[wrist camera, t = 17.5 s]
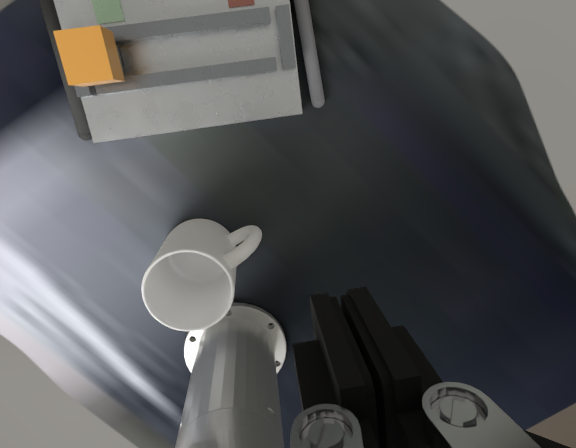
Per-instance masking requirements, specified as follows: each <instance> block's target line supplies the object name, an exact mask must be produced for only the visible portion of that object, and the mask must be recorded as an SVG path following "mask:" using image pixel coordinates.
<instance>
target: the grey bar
mask: <svg viewBox="0 0 576 448" xmlns="http://www.w3.org/2000/svg"><path fill="white" fill-rule="evenodd" d="M39 2H40V5H41V9H42V12H43V16H44V19H45V22H46V26H47V29H48V33H49V36H50V40H51V43H52V47H53V50H54V53H55V57H56V60H57V64H58V67H59V71H60V74H61V77H62V81H63V84H64V88H65V91H66V95H67V98H68V101H69V105H70V108H71V112H72V115H73V119H74V122H75V126H76V129H77V132H78V135H79V137H80V138H81V139H83V140H90V139H91V138H92V136H91V132H90V129H89V125H88V122H87V118H86V114H85V111H84V107H83V104H82V100H81V97H77V94H76V90H75V87H74V86H71V85H68V82H67V78H66V75H65V71H64V68H63V64H62V61H61V57H60V54H59V50H58V47H57V43H56V40H55V36H54V33H53V31H57V30H62V29H61V25H60V22H59V18H58V15H57V11H56V8H55V4H54V1H53V0H39Z"/></svg>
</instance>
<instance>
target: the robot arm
mask: <svg viewBox="0 0 576 448" xmlns="http://www.w3.org/2000/svg"><path fill="white" fill-rule="evenodd" d="M310 306H311V314H312V322H313V329H314V337H315V340H313V341H307V342H301V343H295V344H292V348H293V355H294V362H295V368H296V375H297V381H298V387H299V394H300V400H301V405H302V411H303V412H302V413H301V414H299V415H298V417H297V418H296V420H295V421H294V423H293V426H292V430H291V439H290V448H570V447H567V446H565V445H562V444H559V443H556V442H554V441H551V440H549V439H546V438H544V437H541V436H538V435H536V434H533V433H531V432H528V431H525V430H523V429H521V428H520V427H519V426H518V425H517V424H516V423H515V422H514V421H513V420H512V419H511V418H510V417H509V416H508V415H507V414H506V413H504V412H503V411H502V410H501V409H500V408H499V407H498V406H497V405H496V404H495V403H494V402H493V401H492V400H491V399H490V398H489V397H488V396H486V395H485V394H484V393H482V392H481V391H480V390H478V389H476V388H474V387H472V386H469V385H466V384H462V383H458V382H444V383H443V382H442V380H441V379H440V377H439V376H438V374H437V373H436V372H435V370H434V369H433V367H432V366H431V364H430V363H429V361H428V360H427V358H426V357H425V356H424V354H423V353H422V351H421V350H420V348H419V347H418V345H417V344H416V343H415V341H414V340H413V338H412V337H411V335H410V334H409V332H408V331H407V329H406V328H405V327H404V326H396V327H391V326H390V325H389V323H388V322H387V320H386V318H385V317H384V315H383V314H382V312H381V310H380V309H379V307H378V306H377V304H376V302H375V301H374V299H373V298H372V296H371V294H370V293H369V291H368V290H367V288H366V287H361V288H354V289H348V290H347V292H346V295H342V296H341V307H340V305H339V302H338V300H337V298H336V297H329V294H328V293H324V294H318V295H312V296H310ZM341 308H342V309H341ZM269 323H271V324H269ZM286 351H287V350H286V339H285V334H284V332H283V329H282V327H281V325H280V324H279V322H278V321H277V320H276V319H275V318H274V317H273V316H272V315H271V314H270V313H268V312H267V311H265V310H264V309H262V308H260V307H257V306H255V305H251V304H247V303H232V305H231V307H230V309H229V311H228V312H227V314H226V315H225V316H224V317H223V318H222V319H221V320H220V321H219V322H218V323H216V324H214V325H213V326H211V327H209V328H206V329H203V330H198V331H188V333H187V336H186V340H185V344H184V358H185V361H186V365H187V367H188V369H189V371H190V372H191V377H190V382H189V386H188V391H187V396H186V400H185V405H184V410H183V414H182V419H181V423H180V428H179V433H178V438H177V443H176V447H175V448H284V444H283V432H282V422H281V412H280V402H279V392H278V382H277V374H278V372H279V371H280V369H281V368H282V365H283V363H284V361H285V357H286Z"/></svg>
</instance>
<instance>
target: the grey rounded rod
mask: <svg viewBox="0 0 576 448" xmlns="http://www.w3.org/2000/svg"><path fill="white" fill-rule="evenodd" d="M294 6H295V11H296V17H297V23H298V29H299V34H300V40H301V46H302V51H303V57H304V63H305V69H306V74H307V80H308V86H309V91H310V97H311V103H312V105H313V106H314V107H316V108H320V107H322V106H323V105H324V103H325V98H324V92H323V86H322V80H321V74H320V68H319V62H318V56H317V50H316V44H315V38H314V32H313V26H312V19H311V13H310V7H309V1H308V0H294Z"/></svg>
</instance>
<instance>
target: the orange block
mask: <svg viewBox="0 0 576 448" xmlns="http://www.w3.org/2000/svg"><path fill="white" fill-rule="evenodd" d="M53 33H54V36H55V40H56V43H57V47H58V50H59V54H60V57H61V61H62V64H63V68H64V71H65V75H66V78H67V82H68V85H71V86H82V87H85V86H92V85H100V84H107V83H115V82H122V81H125V80H124V76H123V75H125V72H124V67H123V63H122V59H121V55H120V51H119V47H117V46H116V43H115V39H114V35H113V32H112V31H110V30H108V29H107V28H105V27H103V26H101V25H97V26H89V27H81V28H73V29H65V30H57V31H53Z"/></svg>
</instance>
